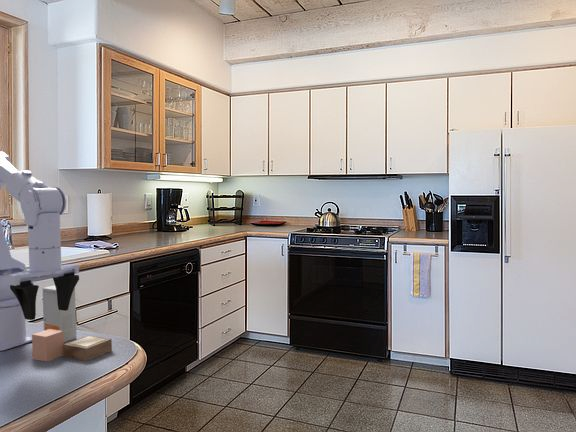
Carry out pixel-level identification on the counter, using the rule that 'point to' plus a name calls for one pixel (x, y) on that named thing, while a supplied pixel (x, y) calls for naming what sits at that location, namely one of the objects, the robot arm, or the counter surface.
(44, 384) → the counter surface
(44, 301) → the skincare box
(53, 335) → the terracotta block
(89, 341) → the walnut foundation
